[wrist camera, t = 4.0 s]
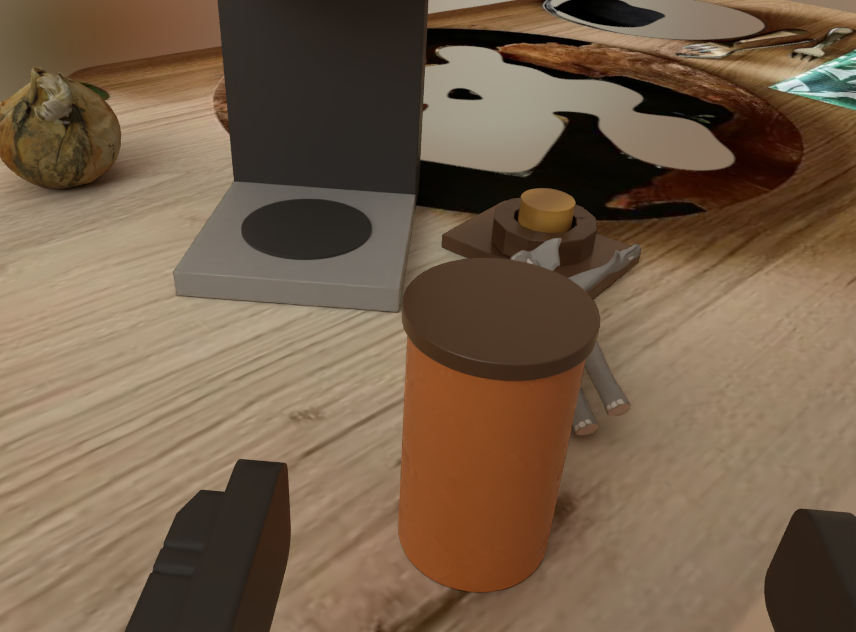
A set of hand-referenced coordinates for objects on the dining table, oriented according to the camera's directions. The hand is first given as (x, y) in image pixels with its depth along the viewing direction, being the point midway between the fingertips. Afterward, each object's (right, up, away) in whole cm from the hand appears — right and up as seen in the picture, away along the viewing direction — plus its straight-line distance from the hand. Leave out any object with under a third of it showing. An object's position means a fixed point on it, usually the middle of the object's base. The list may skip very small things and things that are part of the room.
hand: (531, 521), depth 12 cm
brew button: (+5, +9, +34) cm, 35 cm away
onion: (-26, +13, +41) cm, 50 cm away
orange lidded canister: (0, -5, +17) cm, 17 cm away
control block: (+5, +7, +35) cm, 36 cm away
